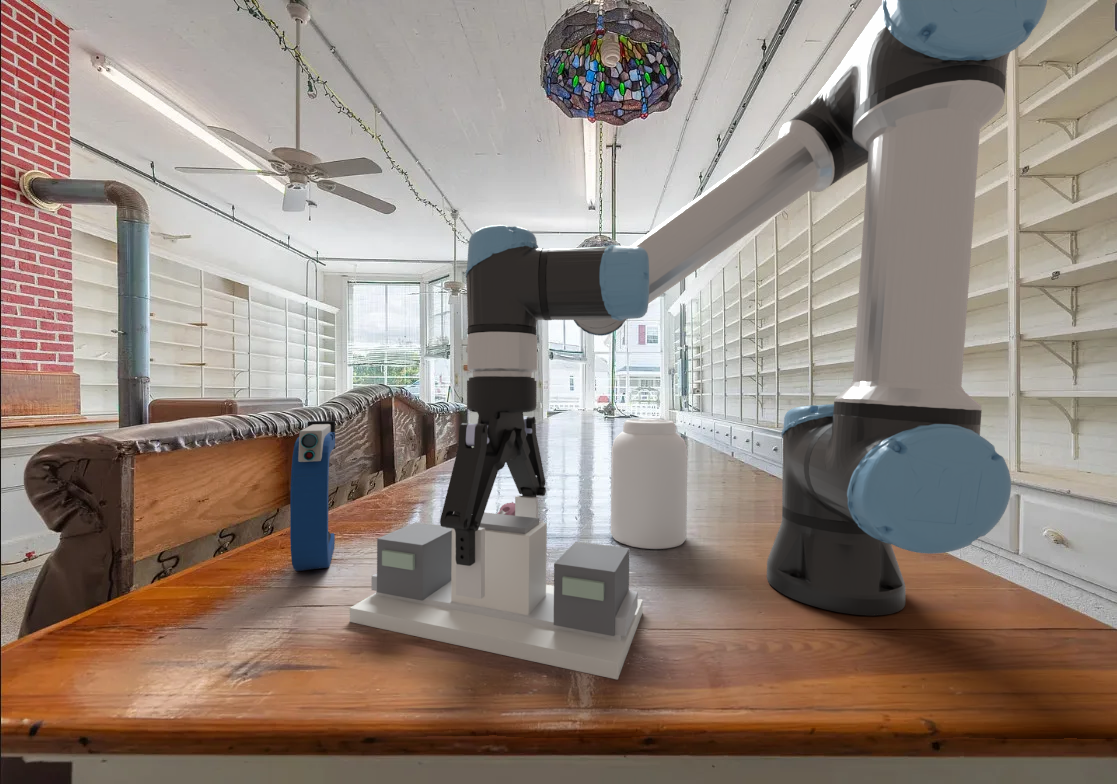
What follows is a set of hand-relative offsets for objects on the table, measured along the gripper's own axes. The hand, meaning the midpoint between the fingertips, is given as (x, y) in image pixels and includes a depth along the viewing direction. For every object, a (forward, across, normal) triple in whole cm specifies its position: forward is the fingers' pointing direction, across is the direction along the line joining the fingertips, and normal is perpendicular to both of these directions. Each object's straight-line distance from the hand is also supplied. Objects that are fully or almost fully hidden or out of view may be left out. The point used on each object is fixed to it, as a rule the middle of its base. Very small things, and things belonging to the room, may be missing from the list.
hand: (501, 570), depth 52 cm
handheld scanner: (+5, -6, -32) cm, 33 cm away
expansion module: (+3, 0, 0) cm, 3 cm away
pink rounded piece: (+5, -25, -12) cm, 28 cm away
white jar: (+6, -33, +11) cm, 36 cm away
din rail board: (+5, 0, 0) cm, 5 cm away
